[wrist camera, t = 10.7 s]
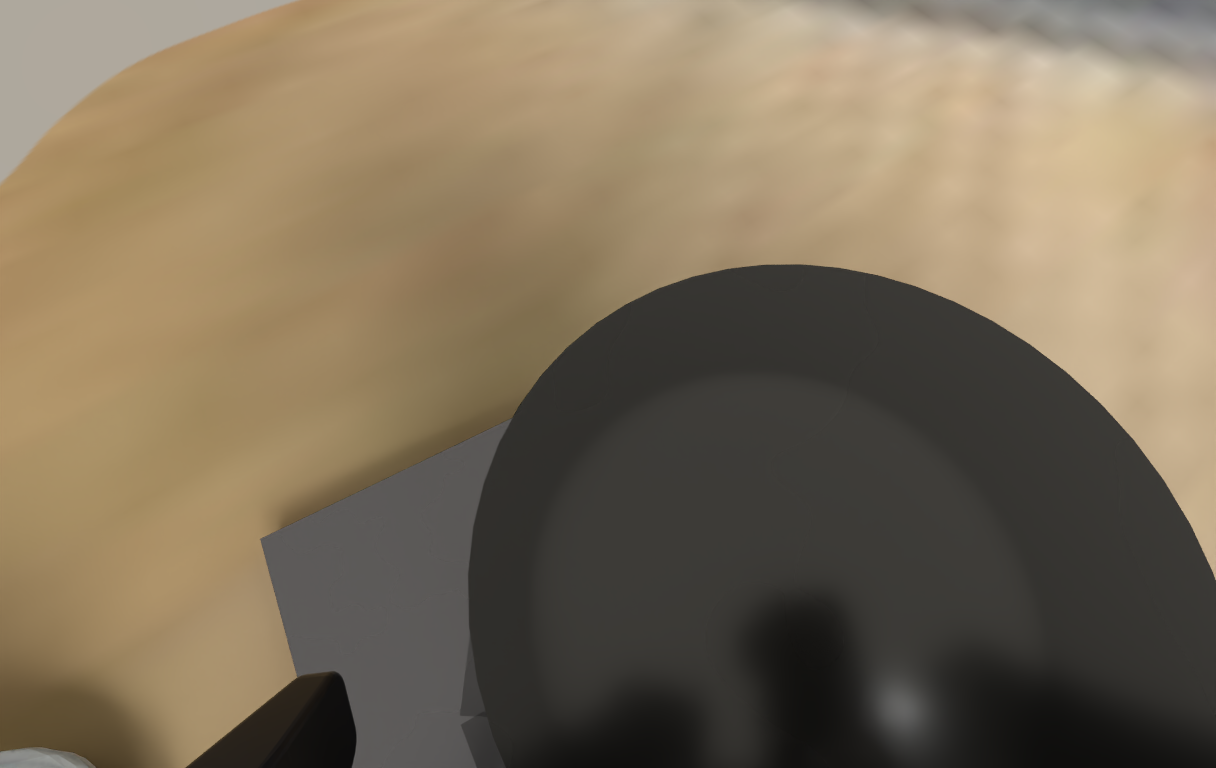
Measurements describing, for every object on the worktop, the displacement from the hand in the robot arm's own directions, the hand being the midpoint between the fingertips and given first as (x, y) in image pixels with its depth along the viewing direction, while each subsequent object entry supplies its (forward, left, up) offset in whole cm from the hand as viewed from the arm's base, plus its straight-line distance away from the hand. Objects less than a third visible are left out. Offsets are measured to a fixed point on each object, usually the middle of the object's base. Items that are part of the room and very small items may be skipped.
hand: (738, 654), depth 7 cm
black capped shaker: (0, 0, -8) cm, 8 cm away
